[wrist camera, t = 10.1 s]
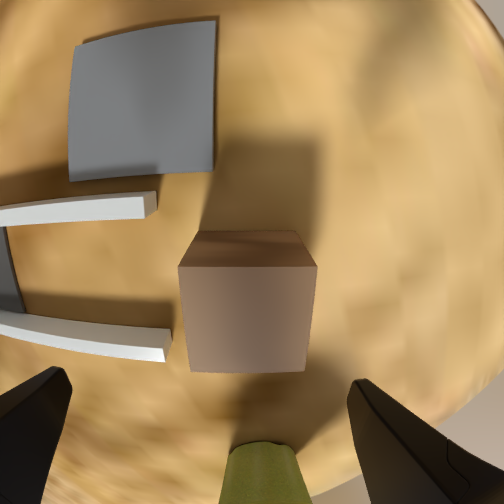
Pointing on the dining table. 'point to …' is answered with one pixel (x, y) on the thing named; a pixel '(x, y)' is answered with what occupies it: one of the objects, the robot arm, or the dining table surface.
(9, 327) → the channel
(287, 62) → the dining table surface
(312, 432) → the dining table surface
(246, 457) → the plant pot
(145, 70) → the slate coaster
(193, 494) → the dining table surface
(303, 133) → the dining table surface
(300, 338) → the walnut block
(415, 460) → the robot arm
